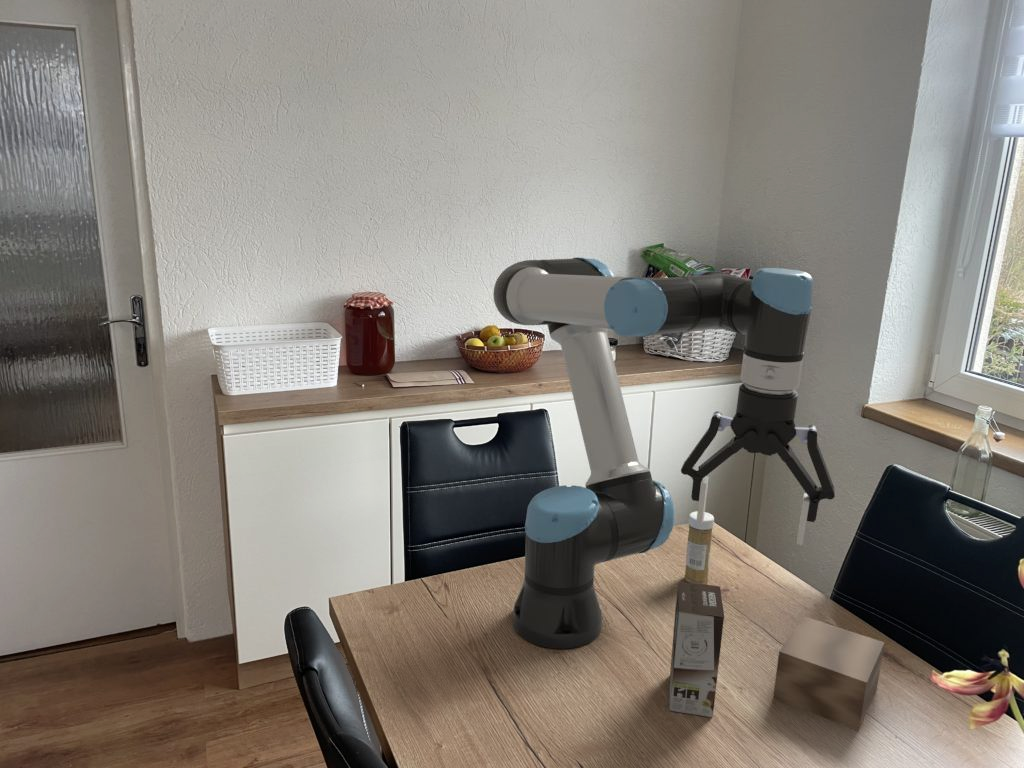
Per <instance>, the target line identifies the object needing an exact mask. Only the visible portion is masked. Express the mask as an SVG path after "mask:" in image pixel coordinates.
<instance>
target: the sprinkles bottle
mask: <svg viewBox="0 0 1024 768" xmlns="http://www.w3.org/2000/svg"><path fill="white" fill-rule="evenodd" d="M697 512H698V510H695V511H692V512H690V513H689V516H688V526H689V527H688V535H687V536H688V537H687V543H686V544H687V545H686V546H687V547H686V556H685V571H684V572H685V573H684V575H683V579H684V580H685V582H686V583H690V584H704V585H707V583H708V581H709V569H710V563H711V548H712V547H711V546H712V536H713V535H712V533H713V528H714V526H715V517H714V515H713V514H711V513H709V512H706V511H705V514H704V520H703V523H702V526H699V525H696V521H697Z"/></svg>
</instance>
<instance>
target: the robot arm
mask: <svg viewBox="0 0 1024 768" xmlns="http://www.w3.org/2000/svg"><path fill="white" fill-rule="evenodd" d="M813 291H814V279H813V277H812V276H811V275H810V274H809V273H808V272H806V271H801V270H798V269H789V268H781V267H764V268H762V267H761V268H760V269H757V270H756V271H755V272H754V273H753V277H752V279H750V278H746V277H742V276H741V277H740V276H737V275H733V274H728V273H725V272H723V271H719V270H716V271H715V270H714V271H712V270H711V271H710V270H705V269H704V270H697V271H696V272H694V273H693V274H691V275H687V276H675V277H672V276H671V277H670V276H669V277H640V276H639V277H636V276H635V277H633V276H632V277H630V276H629V277H628V276H615V275H614V273H613V272H612V270H611V269H610V268H609V266H608V265H607V264H605V263H603V262H601V261H600V260H598V259H595V258H584V257H572V258H553V259H527V260H526V259H525V260H522V261H518V262H516V263H515V262H514V263H513V264H511V265H509V266H508V267H507V268H505V269H504V270H503V271H502V272H500V273H499V275H498V277H497V279H496V281H495V283H494V287H493V300H494V305H495V308H496V310H497V311H498V312H499V315H501V317H503V318H504V319H505V320H507V321H509V322H511V323H513V324H516V325H521V326H547V329H548V333H549V337H550V339H551V340H553V342H556V343H558V345H560V347H561V351H562V355H563V360H564V364H565V368H566V372H567V376H568V380H569V386H570V389H571V394H572V398H573V402H574V406H575V410H576V414H577V419H578V423H579V427H580V430H581V431H580V432H581V435H582V440H583V443H584V447H585V452H586V457H587V460H588V465H589V470H590V476H589V477H588V479H587V481H586V482H585V484H584V485H585V487H584V486H582V485H573V484H572V485H571V486H567V485H557V486H553V487H549V488H547V489H544V490H542V491H540V492H539V493H537V494H535V495H534V496H533V497H532V499H531V500H530V502H529V504H528V506H527V508H526V509H527V510H526V517H525V518H526V519H525V523H524V529H525V549H524V550H525V551H524V552H525V553H524V581H523V583H522V585H521V588H520V591H519V593H518V596H517V598H516V600H515V603H514V606H513V610H512V626H513V629H514V631H515V632H516V633H517V634H518V635H519V636H520V637H521V638H522V639H524V640H526V641H527V642H529V643H532V644H534V645H536V646H540V647H544V648H548V649H558V650H560V649H561V650H562V649H574V648H579V647H583V646H585V645H588V644H589V643H592V642H593V641H594V640H595V639H597V637H598V636H599V635H600V634H601V632H602V626H603V625H602V623H603V613H602V609H601V608H600V603H599V599H598V596H597V592H596V589H595V584H594V580H595V579H594V578H595V566H596V565H597V564H601V563H605V562H609V561H613V560H614V561H615V560H617V559H621V558H626V557H629V556H633V555H637V554H645V553H647V552H649V551H651V550H654V549H656V548H659V547H661V546H663V545H664V544H665V543H666V542H667V541H668V540H669V538H670V536H671V533H672V532H673V529H674V523H675V506H674V502H673V499H672V496H671V494H670V492H669V490H668V489H666V486H665V485H664V484H663V483H661V482H660V481H656V480H653V476H652V473H651V470H650V469H649V468H648V467H646V466H645V465H644V464H642V463H641V462H640V461H639V458H638V453H637V450H636V449H637V448H636V445H635V442H634V437H633V432H632V429H631V426H630V422H629V417H628V414H627V409H626V405H625V402H624V397H623V393H622V389H621V384H620V381H619V377H618V374H617V373H618V372H617V370H616V369H617V368H616V365H615V361H614V356H613V354H612V348H611V345H610V341H609V336H608V332H609V330H613V332H614V334H615V335H618V336H620V337H625V338H628V337H629V338H630V337H633V338H648V337H649V336H655V335H656V336H657V335H665V334H674V333H684V332H685V333H687V332H697V331H706V330H707V331H708V330H725V331H727V332H732V333H735V334H738V335H741V336H745V337H744V338H745V339H744V347H743V355H742V363H741V371H740V381H741V382H742V384H740V385H739V386H738V387H739V388H738V395H737V403H736V410H735V415H734V416H733V417H731V416H727V415H723V414H722V412H720V411H718V410H717V411H714V413H712V414H713V415H712V417H711V419H710V422H709V427H708V429H707V430H706V431H705V433H704V434H703V435H702V437H701V438H700V440H699V441H698V442H697V444H696V445H695V447H694V448H693V449H692V450H691V452H690V454H689V455H688V456H687V458H686V459H685V461H684V462H683V464H682V466H681V469H680V472H681V474H682V475H687V476H689V477H690V478H691V479H692V489H691V496H690V497H691V501H694V502H698V506H697V511H698V512H697V521H696V525H699V526H702V523H703V520H704V514H705V512H706V505H707V504H706V503H707V495H708V489H709V487H708V485H709V478H710V477H709V476H708V475H710V474H711V473H712V472H713V471H714V470H715V469H717V468H718V467H719V466H720V465H722V464H723V463H724V462H725V461H727V460H728V459H729V458H730V457H732V456H733V455H735V454H736V453H737V452H739V451H740V450H742V449H744V450H745V451H746V452H747V453H749V454H758V453H759V454H761V455H764V456H768V457H769V456H772V455H776V454H777V455H778V456H779V458H780V460H781V461H782V462H783V463H785V465H786V466H787V468H788V469H789V470H790V472H791V473H792V475H793V476H794V478H795V479H796V481H797V482H798V484H799V485H800V486H801V488H802V489H803V491H804V492H805V493H804V492H803V498H802V504H801V511H800V517H799V523H798V529H797V538H796V545H800V546H803V544H804V538H805V532H806V528H807V527H806V526H807V522H811V523H815V521H816V520H817V516H818V514H817V513H818V510H819V509H818V508H819V503H820V502H821V500H825V499H826V500H829V501H830V500H833V499H834V498H835V495H836V493H835V485H834V483H833V481H832V478H831V476H830V473H829V470H828V467H827V465H826V461H825V459H824V457H823V454H822V451H821V448H820V447H819V443H818V427H817V426H816V425H813V424H810V425H808V426H807V427H806V426H805V427H803V426H796V424H795V419H796V411H797V403H798V397H799V392H798V391H797V389H798V388H800V386H801V385H800V383H801V376H802V371H803V364H804V356H805V354H804V353H805V352H804V350H805V345H806V339H807V334H808V330H809V329H808V327H809V323H810V322H809V321H810V320H811V319H810V317H811V312H812V310H813V303H812V302H813V295H814V294H813ZM726 427H730V429H731V430H732V432H733V434H734V437H732V438H731V439H730V441H728V442H726V444H724V445H723V447H721V448H720V449H719V450H717V452H715V453H714V454H712V455H711V456H710V457H709V458H707V459H706V460H705V461H704V462H703V463H702V464H700V465H699V466H697V465H696V464H697V462H698V461H699V460H700V458H701V457H702V456H703V454H704V452H705V451H706V450H707V449H708V447H709V446H710V444H712V442H713V440H714V439H715V438H716V436H717V434H718V432H723V431H725V429H726ZM796 437H798V438H799V439H800V441H801V443H802V444H804V445H807V446H806V447H807V451H808V454H809V457H810V459H811V463H812V465H813V468H814V470H815V473H816V475H817V478H818V481H819V484H820V486H818V485H817V483H816V482H815V480H814V479H813V478H812V477H811V475H810V474H809V472H808V471H807V469H806V468H805V467H804V465H803V464H802V462H801V461H800V460H799V458H798V456H797V455H796V454H795V452H794V450H793V448H792V447H791V445H790V444H789V443H790V442H791V441H793V439H794V438H796Z"/></svg>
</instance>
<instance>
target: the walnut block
mask: <svg viewBox="0 0 1024 768" xmlns="http://www.w3.org/2000/svg"><path fill="white" fill-rule="evenodd" d="M884 649H885V642H884V641H881V640H880V639H879V640H878V639H875V638H872V637H869V636H866V635H862V634H859V633H857V632H855V631H850V630H847V629H845V628H841V627H838V626H835V625H832V624H829V623H826V622H823V621H821V620H817V619H814V618H811V617H808V616H804V615H802V616H801V618H800V619H799V621H798V622H797V623H796V625H795V626H794V628H793V630H792V631H791V633H790V634H789V636H788V637H787V639H786V641H784V644H783V645H782V647H781V648H779V651H778V656H777V657H778V659H777V664H776V674H775V681H774V682H775V683H774V691H773V698H774V699H776V700H779V701H781V702H784V703H787V704H788V705H791V706H794V707H797V708H799V709H802V710H805V711H807V712H810V713H812V714H815V715H817V716H820V717H822V718H825V719H828V720H830V721H833V722H834V723H838V724H841V725H843V726H846V727H849V728H851V729H853V730H856V731H860V729H861V727H862V725H863V723H864V722H863V721H864V720H865V717H866V714H867V713H868V710H869V708H870V705H871V703H872V701H873V699H874V695H875V693H876V691H877V689H878V684H879V678H880V671H881V665H882V659H883V653H884Z"/></svg>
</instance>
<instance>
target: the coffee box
mask: <svg viewBox="0 0 1024 768" xmlns="http://www.w3.org/2000/svg"><path fill="white" fill-rule="evenodd" d="M676 588H677V589H676V598H675V599H676V600H675V610H674V620H673V621H674V622H673V632H672V633H673V636H672V644H671V645H672V647H671V659H670V673H669V711H670V712H677V713H683V714H689V715H696V716H702V717H707V718H708V717H709V718H712V717H713V716H714V708H715V700H716V691H717V684H718V683H717V682H718V674H719V666H720V665H719V664H720V656H721V650H722V649H721V648H722V638H723V629H724V621H725V612H724V605H723V598H722V597H723V596H722V591H721V590H722V589H721V586H720V585H714V584H713V585H711V584H705V585H704V584H690V583H688V582H681V581H678V582H677V586H676Z"/></svg>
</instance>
